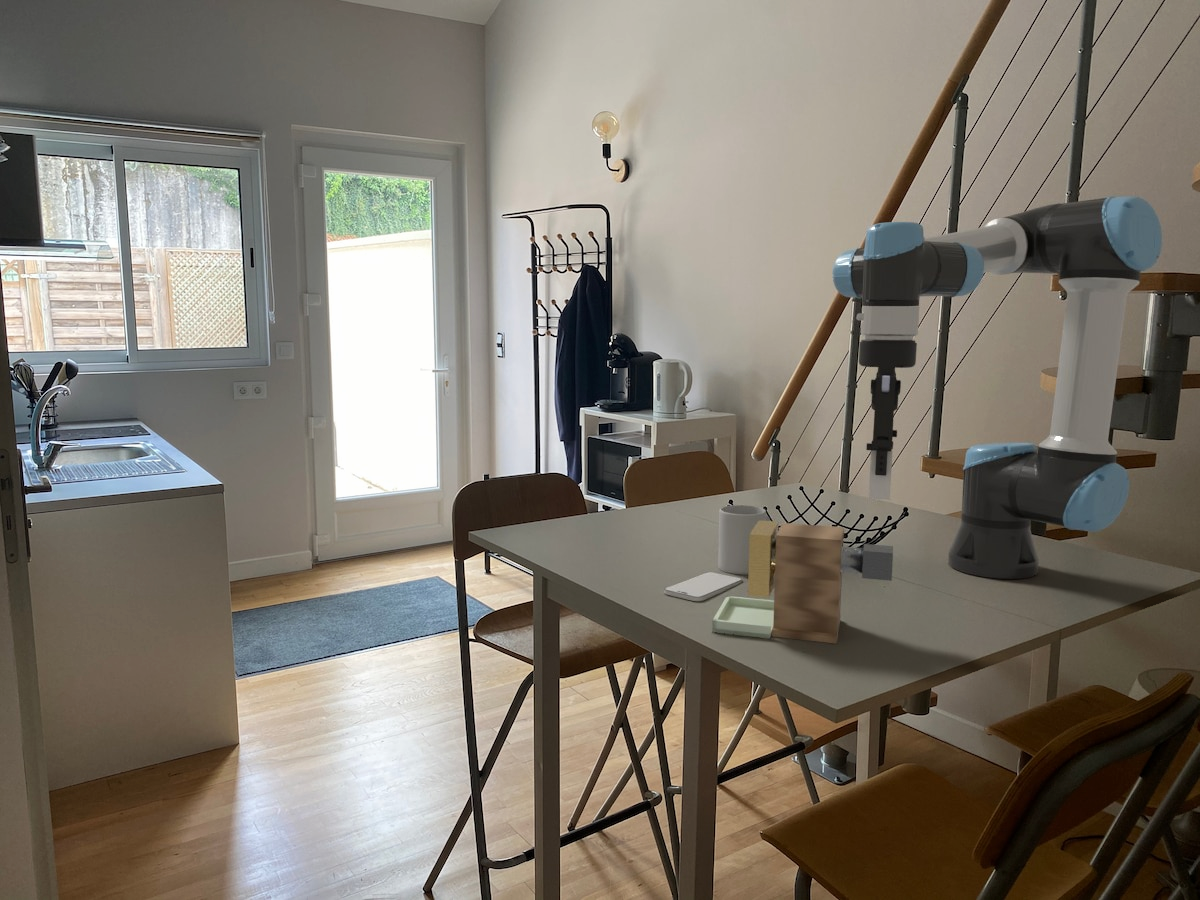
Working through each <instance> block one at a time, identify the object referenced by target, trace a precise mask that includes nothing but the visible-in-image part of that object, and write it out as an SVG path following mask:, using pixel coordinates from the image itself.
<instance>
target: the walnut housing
mask: <svg viewBox="0 0 1200 900" xmlns="http://www.w3.org/2000/svg"><path fill="white" fill-rule="evenodd" d="M844 537H845V527H843V526H831V525H817V524H816V525H815V524H804V523H791V522H790V523H789V522H782V523H781V525H780V527H779V528H778V533H777V535H776V557H775V585H774V588H773V589H774V592H773V593H774V594H773V595H774V596H773V598H774V599H773V600H774V622H773V630H772V635H771V637H772V638H773V637H774V638H782V639H783V638H784V639H793V640H800V641H801V640H802V641H809V642H810V641H811V642H819V643H829V644H837V642H838V636H839V630H840V624H841V607H842V605H841V604H842V586H843V585H842V581H843V572H841V571H840V568H841V547H844Z"/></svg>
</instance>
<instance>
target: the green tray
mask: <svg viewBox="0 0 1200 900" xmlns="http://www.w3.org/2000/svg"><path fill="white" fill-rule="evenodd" d="M773 622H774V599H762V598H755V597H754V598H752V597H741V596H732V595H731V596H730V595H726V597H725V598H724V600H723V602H722V604H721V605H720V607H719V609H718V610H717V612H716V613H715V615H714V617H713V619H712V622H711V623H712V624H711V629H712V630H711V632H712V633H715V632H717V633H716V634H724V633H725V634H724V635H733V634H734V635H733V636H743V637H753V638H762V639H771V637H772V630H773Z"/></svg>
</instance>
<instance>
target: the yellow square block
mask: <svg viewBox="0 0 1200 900" xmlns="http://www.w3.org/2000/svg"><path fill="white" fill-rule="evenodd" d="M778 531H779V521H775V520H773V521H772V520H770V521H761V520H759V521H758V522H757V524H756V525H755V527H754V528H753V530H752V531H751V533H750V540H749V574H748V581H747V582H748V583H747V584H748V585H747V586H748V587H747V588H748V589H747V597H754V598H755V597H756V598H768V599H769V598H770V596H771V593H772V591H773V589H774V588H775V566H771V565H772V545H773V543H774V541H776V535H777V533H778Z"/></svg>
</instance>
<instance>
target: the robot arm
mask: <svg viewBox="0 0 1200 900" xmlns="http://www.w3.org/2000/svg"><path fill="white" fill-rule="evenodd" d="M1160 222H1161V221H1160V219H1159V216H1158V215H1157V212H1156V210H1155V209H1154V207H1153V205H1152V204H1150V202H1149V201H1147V200H1145V199H1144V198H1143V197H1139V196H1134V195H1133V196H1131V195H1130V196H1108V197H1102V198H1095V199H1087V200H1080V201H1078V200H1077V201H1073V202H1072V201H1071V202H1064V203H1053V204H1047V205H1043V206H1039V207H1036V208H1032V209H1028V210H1025V211H1022V212H1018V213H1016V214H1011V215H1008V216H1004V217H1003V216H1002V217H998V218H995V219H992V220H990V221H989V222H987V223H986V224H985V225H984V226H982V227H978V228H972V229H967V230H961V231H956V232H951V233H944V234H939V235H934V236H933V235H932V236H928V237H924V227H923V225H922V224H920V223H917V222H913V221H889V222H879V223H874V224H872V225H870V226H869V227H868V228H867V230H866V233H865V243H864V248H863V247H858V248H855V249H850V250H846V251H844V252H842V253H841V254H839V256H838V257H837V258H836V260H835V262H834V264H833V268H832V278H833V279H832V282H833V285H834V288H835V289H836V290H837V291H836V292H838V293H839V294H840V295H842V296H843V297H845V298H856V299H858V300H859V299H862V300H861V306H862V307H861V311H862V313H861V312H859V313H857V314H856V318H855V319H856V320H857V321H862V322H861V324H860V335H862V336H864V338H865V339H861V341H859V350H858V353H859V354H858V364H859V365H860V366H862V367H864V368H865V367H867V368H877V372H876V374H875V376H876V377H874V378H875V379H870V394H871V409H872V410H873V411H874V414H873V431H872V433H873V434H872V440H871V443H870V442H869V443H866V451H870V466H869V467H870V468H869V485H868V487H869V488H868V499H871V500H872V499H874V500H885V501H886V500H891V484H892V467H893V449H894V441H893V438H897V437H898V430H897V429H894V418H895V417H894V416H895V411H897V410H898V406H899V405H898V404H899V395H900V394H901V386H902V385H901V384H902V382H901V379H900V380H899V379H898V378H897V373H896V368H900V369H903V368H904V369H908V368H914V367H915V366H916V363H917V350H918V349H917V345H918V344H917V342H916V340H914V337H916V336H917V335H918V334H919V323H920V322H919V321H920V320H919V319H920V297H945V298H954V297H963V296H966V295H969V294H970V293H972V292H974V291H975V290H976V289H977V288H978V286H979V285H980V283H981V281H982V279H983V277H984V274H987V273H991V274H995V275H998V276H1004V275H1009V274H1024V273H1026V274H1059V277H1058V284H1059V285H1060V286H1061V287H1062V288H1063V289H1064V290H1065V292H1066V294H1067V295H1066V301H1065V309H1064V316H1063V317H1064V319H1063V327H1062V333H1061V334H1062V335H1061V342H1060V350H1059V351H1060V352H1059V358H1058V359H1059V360H1058V367H1057V373H1056V375H1057V376H1056V384H1055V391H1054V399H1053V407H1052V417H1051V424H1050V433H1049V435H1048V436H1047V438H1045V439H1044V440H1043V441H1041V442H1040V443H1039V444H1038V448H1037V444H1035V443H1031V442H1001V443H1000V442H999V443H984V444H983V443H982V444H977V445H973V446H971V447H970V448H968V449H967V450H966V452H965V459H964V465H963V467H962V471H963V476H962V477H963V478H962V479H963V481H962V496H961V497H962V499H961V515H960V524H959V527H958V528H957V531H956V534H955V536H954V539H953V542H952V543H951V545H950V549H949V551H948V559H947V560H948V565H949V566H950V567H951V568H953V569H955V570H957V571H959V572H962V573H964V574H969V575H974V576H976V577H977V576H978V577H984V578H991V579H992V578H993V579H1002V580H1004V579H1006V580H1008V579H1010V580H1012V579H1015V580H1016V579H1018V580H1019V579H1027V578H1028V579H1029V578H1031V577H1034V575H1035V576H1037V575H1038V573H1039V557H1038V553H1037V549H1036V546H1035V543H1034V538H1033V535H1032V531H1031V527H1032V526H1031V524H1032V523H1031V521H1034V522H1039V523H1040V522H1041V523H1044V524H1050V525H1054V526H1059V527H1064V528H1065V529H1068V530H1070V531H1071V530H1072V531H1074V530H1077V531H1083V532H1099V531H1103V530H1105V529H1106V528H1108V527H1109V526H1110V525H1112V524H1113V523H1114V521H1115V520H1116V518H1118V517H1119V516H1120V514H1121V512H1122V510H1123V508H1124V507H1125V504H1126V501H1127V499H1128V495H1129V492H1130V478H1129V477H1128V476H1129V474H1128V471H1127V469H1126V468H1125V467H1124V466H1122V465H1120V464H1119V463H1117V456H1118V451H1117V450H1116V449H1115V448H1114V447H1113V446H1112V444H1110V441H1109V435H1110V428H1111V427H1110V426H1111V418H1112V412H1113V405H1114V397H1115V390H1116V383H1117V382H1116V381H1117V375H1118V366H1119V359H1120V350H1121V344H1122V335H1123V328H1124V320H1125V315H1126V314H1125V313H1126V306H1127V305H1126V304H1127V296H1128V294H1129V293H1130V292H1131V291H1132V290H1134V289H1135V288H1136V287H1137V286H1139V285H1140V281H1141V273H1142V272H1145V271H1147V270H1149V269H1151V268H1153V267H1154V266H1155V264H1156V263H1157V259H1159V257H1160V255H1161V252H1162V247H1163V234H1162V232H1163V231H1162V226H1161V223H1160Z"/></svg>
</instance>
